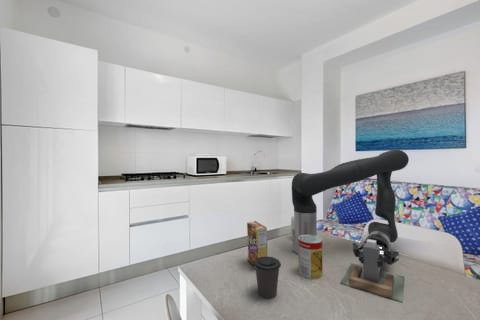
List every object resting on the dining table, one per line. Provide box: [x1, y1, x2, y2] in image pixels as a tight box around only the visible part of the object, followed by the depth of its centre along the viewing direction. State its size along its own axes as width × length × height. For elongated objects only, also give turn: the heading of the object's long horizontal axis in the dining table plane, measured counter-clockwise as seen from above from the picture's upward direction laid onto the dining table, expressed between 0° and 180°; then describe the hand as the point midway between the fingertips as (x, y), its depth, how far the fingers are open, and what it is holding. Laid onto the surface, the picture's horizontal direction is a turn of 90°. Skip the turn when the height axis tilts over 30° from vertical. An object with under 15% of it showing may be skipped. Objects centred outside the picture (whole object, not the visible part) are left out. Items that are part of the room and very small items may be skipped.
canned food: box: [298, 235, 323, 280], centre depth 79 cm, size 8×8×12 cm
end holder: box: [339, 263, 405, 303], centre depth 73 cm, size 16×16×2 cm
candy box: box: [246, 220, 269, 266], centre depth 85 cm, size 9×4×15 cm, turn 23°
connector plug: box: [362, 239, 381, 283], centre depth 71 cm, size 4×4×12 cm
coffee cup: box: [253, 256, 282, 300], centre depth 67 cm, size 8×8×10 cm
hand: (370, 262), depth 69 cm, fingers closed on connector plug, 4 cm apart
